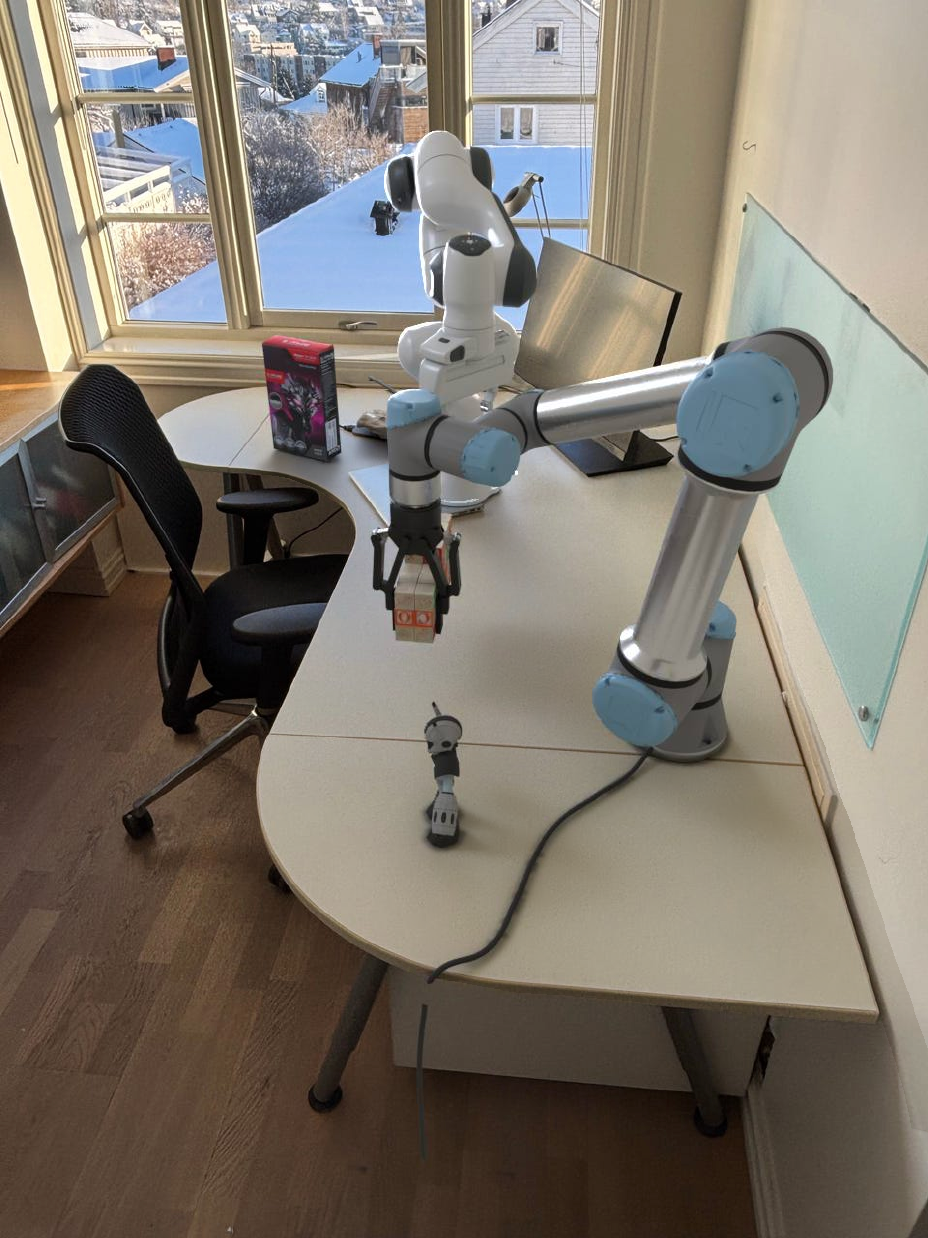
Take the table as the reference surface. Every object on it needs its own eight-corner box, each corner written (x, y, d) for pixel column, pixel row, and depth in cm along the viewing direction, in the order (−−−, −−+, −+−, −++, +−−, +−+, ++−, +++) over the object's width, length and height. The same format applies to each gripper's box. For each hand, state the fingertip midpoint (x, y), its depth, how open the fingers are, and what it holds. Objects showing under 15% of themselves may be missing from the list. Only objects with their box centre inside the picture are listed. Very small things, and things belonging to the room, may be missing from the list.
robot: (465, 880, 118) (466, 765, 107) (427, 882, 118) (424, 766, 107) (458, 774, 134) (458, 664, 123) (424, 775, 134) (422, 665, 123)
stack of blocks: (434, 645, 144) (433, 578, 138) (395, 642, 145) (391, 575, 138) (452, 574, 162) (452, 512, 155) (417, 572, 163) (415, 510, 156)
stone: (340, 433, 232) (345, 409, 229) (362, 424, 245) (367, 402, 243) (418, 457, 228) (423, 433, 226) (436, 447, 241) (441, 425, 239)
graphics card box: (271, 449, 231) (258, 341, 215) (288, 440, 236) (276, 333, 220) (327, 463, 224) (318, 352, 209) (343, 453, 229) (336, 344, 214)
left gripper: (497, 323, 164) (495, 398, 172) (412, 348, 152) (414, 427, 160) (523, 331, 161) (520, 407, 168) (438, 357, 149) (439, 437, 156)
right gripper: (483, 490, 137) (480, 619, 149) (356, 481, 138) (364, 610, 151) (477, 513, 130) (475, 646, 143) (345, 504, 132) (354, 636, 145)
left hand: (468, 417), depth 164 cm, fingers open, 8 cm apart
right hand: (418, 627), depth 147 cm, fingers closed on stack of blocks, 6 cm apart
